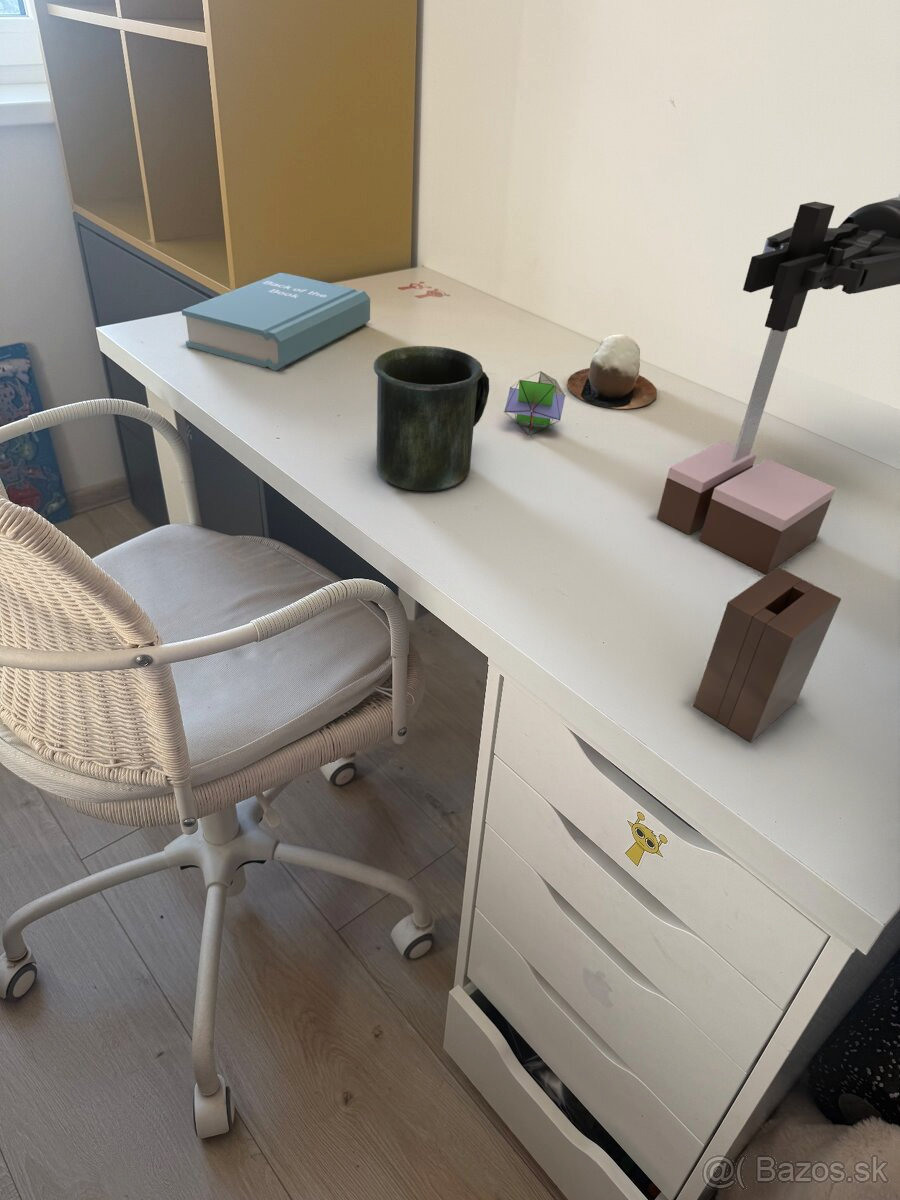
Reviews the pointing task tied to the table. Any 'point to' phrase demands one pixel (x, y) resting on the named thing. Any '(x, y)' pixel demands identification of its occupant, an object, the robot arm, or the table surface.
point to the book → (275, 319)
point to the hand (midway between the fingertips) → (765, 278)
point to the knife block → (764, 652)
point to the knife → (783, 316)
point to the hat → (614, 376)
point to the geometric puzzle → (536, 401)
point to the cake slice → (698, 485)
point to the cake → (766, 515)
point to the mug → (427, 415)
